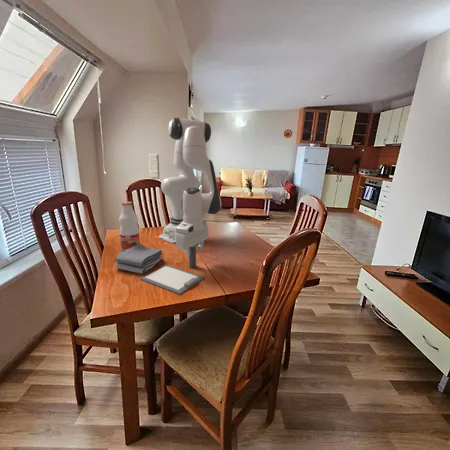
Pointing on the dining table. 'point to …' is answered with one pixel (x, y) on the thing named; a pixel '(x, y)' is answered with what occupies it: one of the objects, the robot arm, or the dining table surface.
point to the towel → (138, 258)
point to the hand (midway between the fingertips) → (194, 252)
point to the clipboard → (172, 279)
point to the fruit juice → (128, 227)
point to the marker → (192, 256)
